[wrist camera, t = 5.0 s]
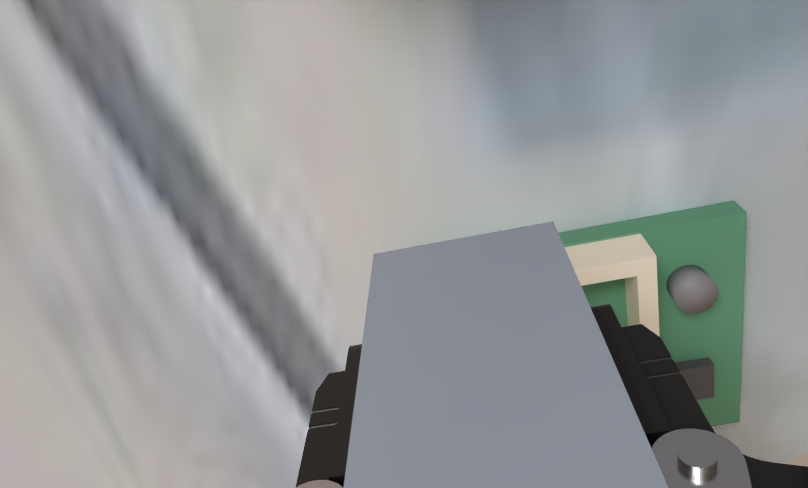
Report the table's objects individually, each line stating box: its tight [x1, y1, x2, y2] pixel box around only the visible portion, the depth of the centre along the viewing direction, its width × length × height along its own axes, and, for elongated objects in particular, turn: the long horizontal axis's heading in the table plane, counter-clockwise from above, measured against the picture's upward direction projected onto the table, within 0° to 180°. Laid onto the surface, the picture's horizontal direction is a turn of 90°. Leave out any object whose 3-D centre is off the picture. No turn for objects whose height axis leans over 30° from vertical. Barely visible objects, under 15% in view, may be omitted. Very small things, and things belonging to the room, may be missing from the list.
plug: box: [343, 222, 668, 488], centre depth 11 cm, size 4×5×8 cm
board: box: [559, 201, 747, 426], centre depth 30 cm, size 14×12×3 cm
